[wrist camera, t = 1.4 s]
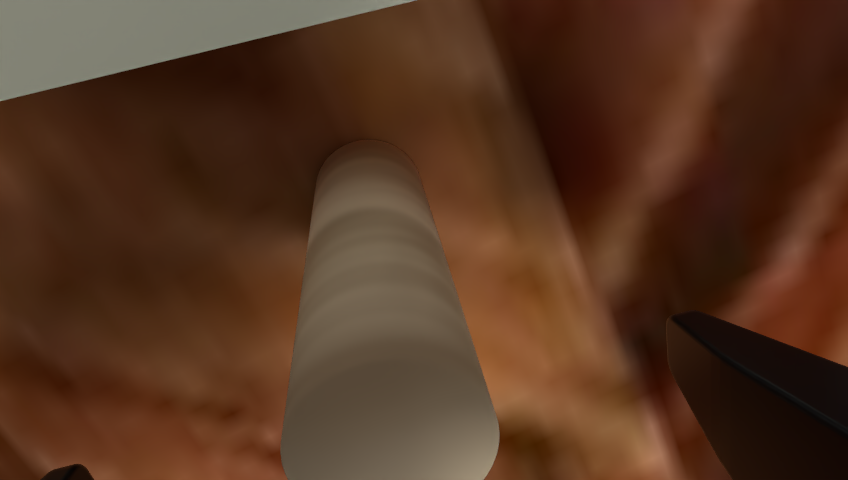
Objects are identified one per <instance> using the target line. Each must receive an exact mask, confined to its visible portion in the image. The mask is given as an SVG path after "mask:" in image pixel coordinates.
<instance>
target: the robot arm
mask: <svg viewBox="0 0 848 480" xmlns="http://www.w3.org/2000/svg"><path fill="white" fill-rule="evenodd" d="M666 332H667V354H668V363H669V367H670V370H671V373H672V375H673V377H674V379H675V380H676V382H677V384H678V386H679V388H680V390H681V391H682V393H683V395H684V397H685V399H686V401H687V402H688V404H689V406H690V408H691V410H692V411H693V413H694V415H695V417H696V419H697V421H698V422H699V424H700V426H701V428H702V430H703V432H704V433H705V435H706V437H707V439H708V441H709V443H710V444H711V446H712V448H713V450H714V451H715V453H716V455H717V457H718V458H719V460H720V462H721V463H722V465H723V466H724V468H725V469H726V471H727V472H728V474H729V475H730V477H731V478H732V480H848V367H846V366H843V365H841V364H838V363H835V362H833V361H830V360H827V359H825V358H822V357H819V356H817V355H814V354H811V353H809V352H806V351H803V350H801V349H798V348H795V347H793V346H790V345H787V344H785V343H782V342H779V341H777V340H774V339H772V338H769V337H766V336H764V335H761V334H758V333H756V332H753V331H750V330H748V329H745V328H742V327H740V326H737V325H734V324H732V323H729V322H726V321H724V320H721V319H718V318H716V317H713V316H710V315H708V314H705V313H703V312H700V311H696V310H690V311H686V312H682V313H678V314H674V315H671V316H670V317H669V318H668V319H667V323H666ZM41 480H94V479H93V477H92V476H91V474H90V473H89V471H88V470H87V468H86V467H84V466H83V465H81V464H74V465H70V466H66V467H62V468H58V469H55V470H52V471H50V472H49V473H48V474H46V475H45V476H44V477H43V478H42V479H41Z"/></svg>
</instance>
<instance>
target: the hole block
mask: <svg viewBox="0 0 848 480" xmlns="http://www.w3.org/2000/svg"><path fill="white" fill-rule="evenodd" d="M411 1H416V0H0V101H3V100H7V99H11V98H15V97H19V96H24V95H28V94H32V93H36V92H40V91H44V90H48V89H52V88H57V87H61V86H65V85H69V84H73V83H77V82H81V81H85V80H90V79H94V78H98V77H102V76H106V75H110V74H114V73H118V72H123V71H127V70H131V69H135V68H139V67H143V66H147V65H151V64H156V63H160V62H164V61H168V60H172V59H176V58H180V57H184V56H189V55H193V54H197V53H201V52H205V51H209V50H213V49H218V48H222V47H226V46H230V45H234V44H238V43H242V42H246V41H251V40H255V39H259V38H263V37H267V36H271V35H275V34H279V33H284V32H288V31H292V30H296V29H300V28H304V27H308V26H312V25H317V24H321V23H325V22H329V21H333V20H337V19H341V18H345V17H350V16H354V15H358V14H362V13H366V12H370V11H374V10H378V9H383V8H387V7H391V6H395V5H399V4H403V3H407V2H411Z"/></svg>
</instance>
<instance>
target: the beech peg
mask: <svg viewBox="0 0 848 480" xmlns="http://www.w3.org/2000/svg"><path fill="white" fill-rule="evenodd" d="M498 446H499V426H498V420H497V417H496V414H495V411H494V408H493V404H492V401H491V398H490V395H489V392H488V389H487V386H486V382H485V379H484V376H483V373H482V370H481V367H480V364H479V360H478V357H477V354H476V351H475V348H474V345H473V342H472V339H471V335H470V332H469V329H468V326H467V323H466V320H465V317H464V313H463V310H462V307H461V304H460V301H459V298H458V295H457V292H456V288H455V285H454V282H453V279H452V276H451V273H450V270H449V266H448V263H447V260H446V257H445V254H444V251H443V248H442V245H441V241H440V238H439V235H438V232H437V229H436V226H435V223H434V219H433V216H432V213H431V210H430V207H429V204H428V201H427V197H426V194H425V191H424V188H423V185H422V182H421V179H420V176H419V172H418V170H417V168H416V166H415V164H414V163H413V161H412V160H411V159H410V158H409V157H408V155H406V154H405V153H404V152H403V151H402V150H400V149H399V148H397V147H396V146H394V145H392V144H389V143H386V142H383V141H378V140H359V141H354V142H351V143H348V144H346V145H344V146H342V147H340V148H339V149H337V150H336V151H334V152H333V153H332V154H331V155H330V156H329V157H328V158H327V159H326V161H325V162H324V163H323V165H322V167H321V169H320V171H319V173H318V176H317V181H316V187H315V194H314V202H313V209H312V217H311V224H310V231H309V239H308V246H307V253H306V261H305V268H304V276H303V283H302V290H301V298H300V305H299V313H298V320H297V327H296V335H295V342H294V350H293V357H292V364H291V372H290V379H289V386H288V394H287V401H286V409H285V416H284V423H283V431H282V438H281V459H282V465H283V468H284V471H285V474H286V476H287V478H288V480H484V478H485V477H486V476H487V474H488V472H489V470H490V469H491V467H492V465H493V463H494V460H495V457H496V455H497V451H498Z"/></svg>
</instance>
